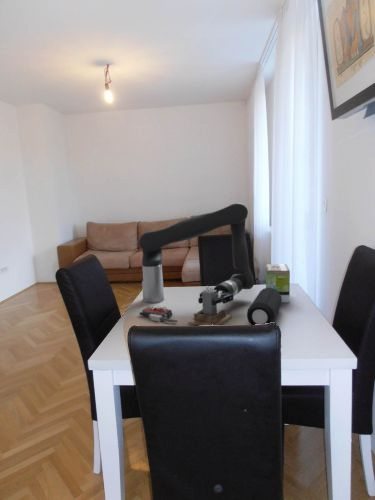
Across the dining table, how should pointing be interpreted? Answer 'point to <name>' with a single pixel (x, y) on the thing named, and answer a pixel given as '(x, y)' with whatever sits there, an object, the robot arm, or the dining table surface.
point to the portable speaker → (264, 307)
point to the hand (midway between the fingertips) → (206, 302)
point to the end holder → (209, 318)
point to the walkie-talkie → (157, 313)
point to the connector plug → (209, 301)
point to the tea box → (279, 279)
